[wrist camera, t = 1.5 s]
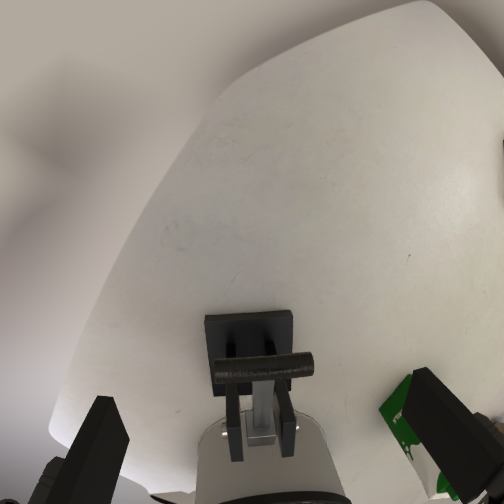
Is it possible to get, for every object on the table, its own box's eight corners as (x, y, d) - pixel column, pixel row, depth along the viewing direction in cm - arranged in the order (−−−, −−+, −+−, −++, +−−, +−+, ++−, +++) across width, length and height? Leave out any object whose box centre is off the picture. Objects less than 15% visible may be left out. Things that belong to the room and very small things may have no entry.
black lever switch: (205, 315, 31) (191, 400, 18) (290, 309, 32) (327, 389, 18) (214, 389, 33) (210, 480, 20) (288, 383, 34) (315, 470, 20)
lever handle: (213, 345, 15) (213, 385, 13) (308, 338, 15) (317, 376, 13) (228, 422, 22) (230, 448, 21) (287, 417, 23) (291, 442, 21)
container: (305, 387, 34) (339, 481, 20) (337, 459, 38) (364, 529, 24) (171, 429, 34) (156, 518, 20) (230, 491, 39) (234, 561, 24)
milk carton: (409, 366, 35) (491, 461, 16) (440, 382, 37) (512, 460, 17) (370, 412, 36) (428, 515, 17) (405, 423, 38) (461, 508, 18)
